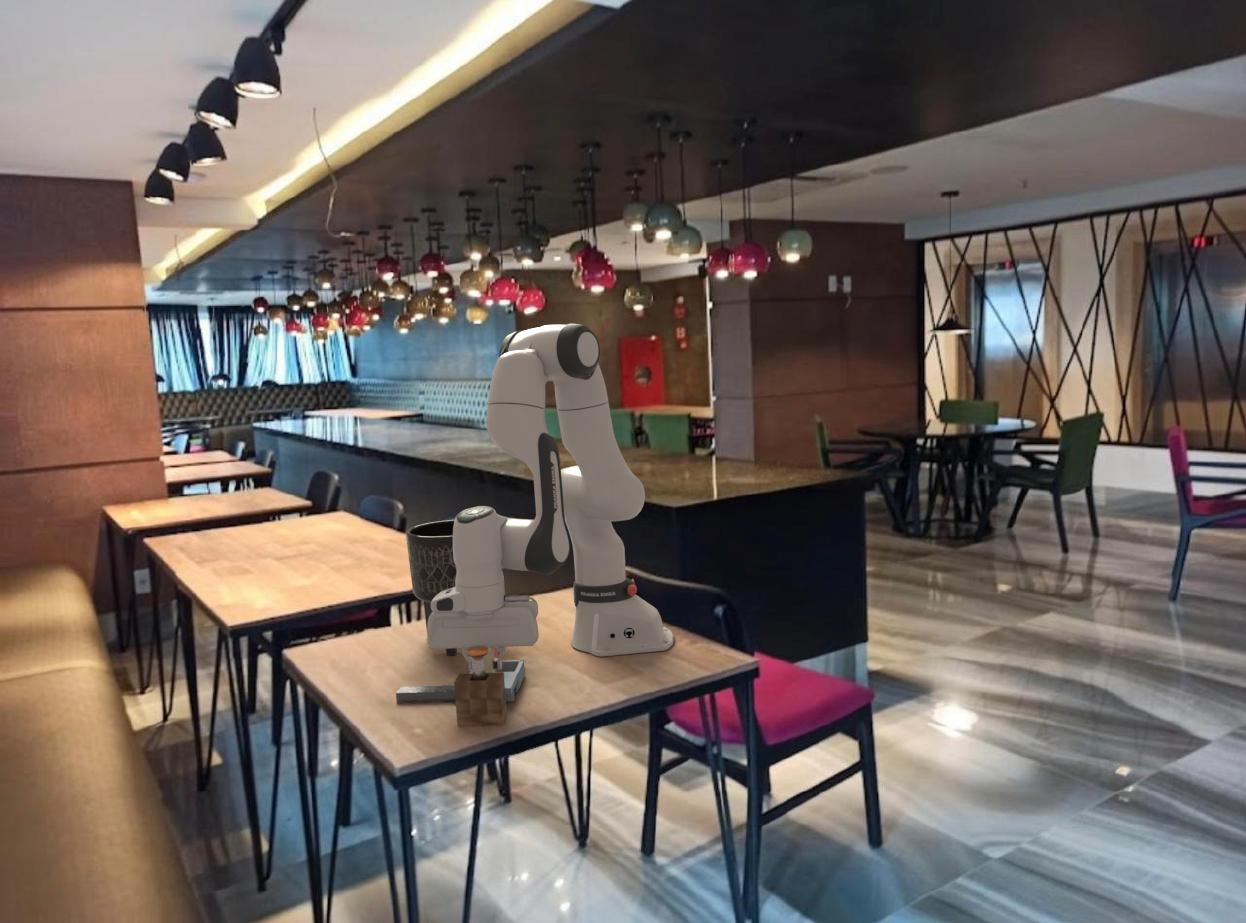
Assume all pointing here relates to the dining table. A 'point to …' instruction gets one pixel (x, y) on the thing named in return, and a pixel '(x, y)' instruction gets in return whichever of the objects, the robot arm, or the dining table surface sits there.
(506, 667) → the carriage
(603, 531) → the robot arm
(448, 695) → the rail
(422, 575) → the planter
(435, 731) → the dining table surface
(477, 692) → the box
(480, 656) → the button
